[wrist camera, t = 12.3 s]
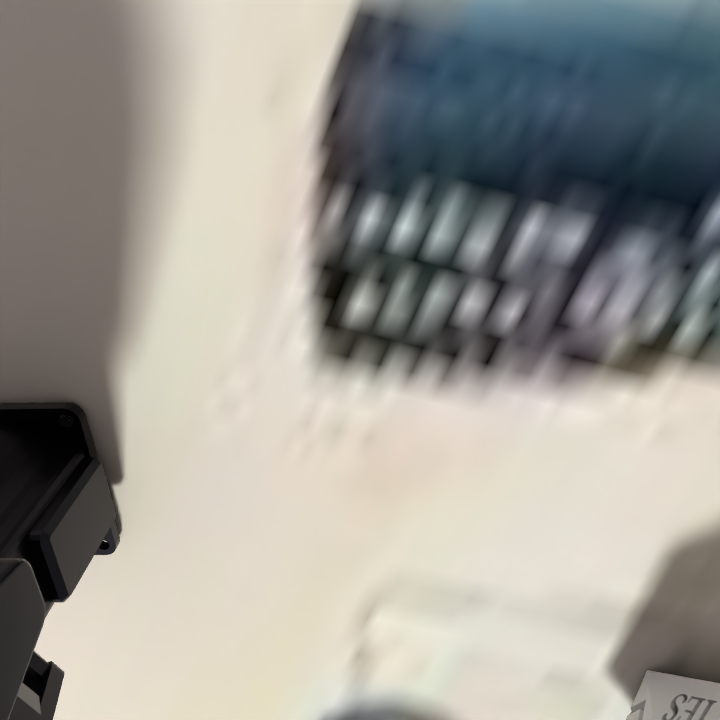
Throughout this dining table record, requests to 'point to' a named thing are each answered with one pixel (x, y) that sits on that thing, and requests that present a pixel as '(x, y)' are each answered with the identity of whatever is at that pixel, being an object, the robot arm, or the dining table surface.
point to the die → (675, 698)
